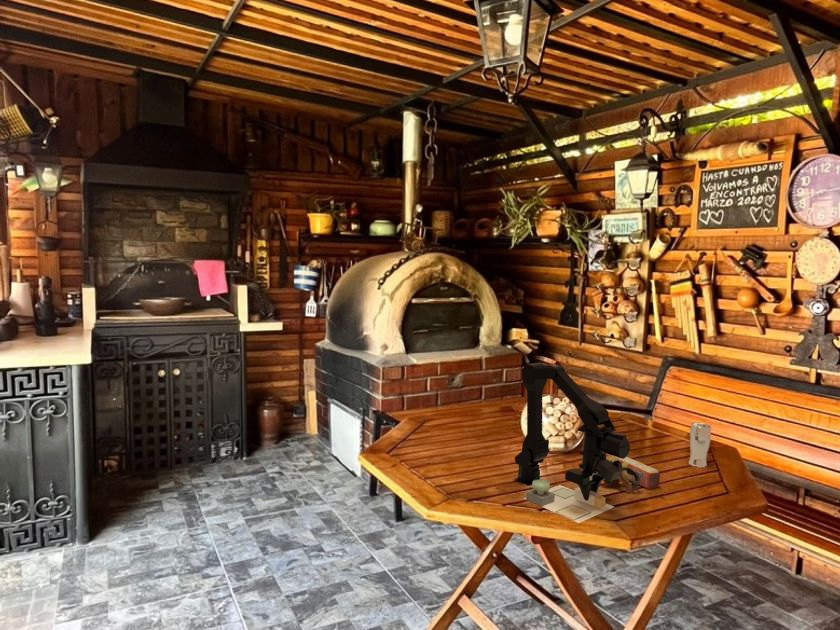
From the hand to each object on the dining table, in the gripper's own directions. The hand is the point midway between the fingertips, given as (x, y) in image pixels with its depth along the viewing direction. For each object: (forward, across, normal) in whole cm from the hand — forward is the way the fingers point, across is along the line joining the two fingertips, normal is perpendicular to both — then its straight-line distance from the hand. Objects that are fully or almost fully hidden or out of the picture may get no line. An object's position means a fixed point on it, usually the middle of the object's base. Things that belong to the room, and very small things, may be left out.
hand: (589, 498), depth 176 cm
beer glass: (+3, +65, -2) cm, 65 cm away
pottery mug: (+3, +20, +2) cm, 20 cm away
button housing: (+2, -10, +10) cm, 15 cm away
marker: (+1, 0, 0) cm, 1 cm away
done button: (+1, -10, +11) cm, 15 cm away
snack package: (+3, +32, +6) cm, 33 cm away
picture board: (+2, -4, +4) cm, 6 cm away
